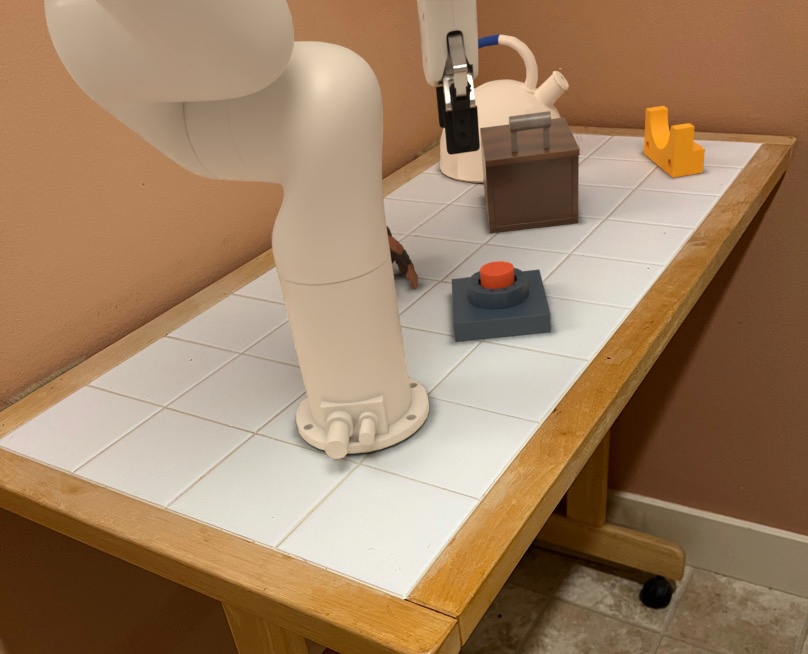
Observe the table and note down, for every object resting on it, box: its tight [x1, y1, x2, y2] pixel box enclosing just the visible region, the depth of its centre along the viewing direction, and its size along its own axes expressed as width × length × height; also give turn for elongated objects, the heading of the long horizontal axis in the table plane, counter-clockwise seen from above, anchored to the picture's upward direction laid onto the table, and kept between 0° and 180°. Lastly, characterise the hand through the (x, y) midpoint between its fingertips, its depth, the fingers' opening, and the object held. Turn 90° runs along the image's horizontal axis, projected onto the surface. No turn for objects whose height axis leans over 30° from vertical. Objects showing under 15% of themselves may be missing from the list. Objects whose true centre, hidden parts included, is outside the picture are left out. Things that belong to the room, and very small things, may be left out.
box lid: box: [480, 111, 581, 167], centre depth 105 cm, size 14×12×5 cm
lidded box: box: [481, 141, 580, 234], centre depth 109 cm, size 14×12×9 cm
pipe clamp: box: [643, 105, 706, 179], centre depth 117 cm, size 12×4×6 cm, turn 6°
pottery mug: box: [386, 225, 419, 290], centre depth 98 cm, size 12×10×8 cm
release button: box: [479, 260, 515, 289], centre depth 87 cm, size 4×4×2 cm
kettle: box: [439, 33, 570, 184], centre depth 124 cm, size 20×21×18 cm
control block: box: [451, 267, 552, 343], centre depth 88 cm, size 11×10×4 cm
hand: (458, 138), depth 83 cm, fingers open, 9 cm apart
